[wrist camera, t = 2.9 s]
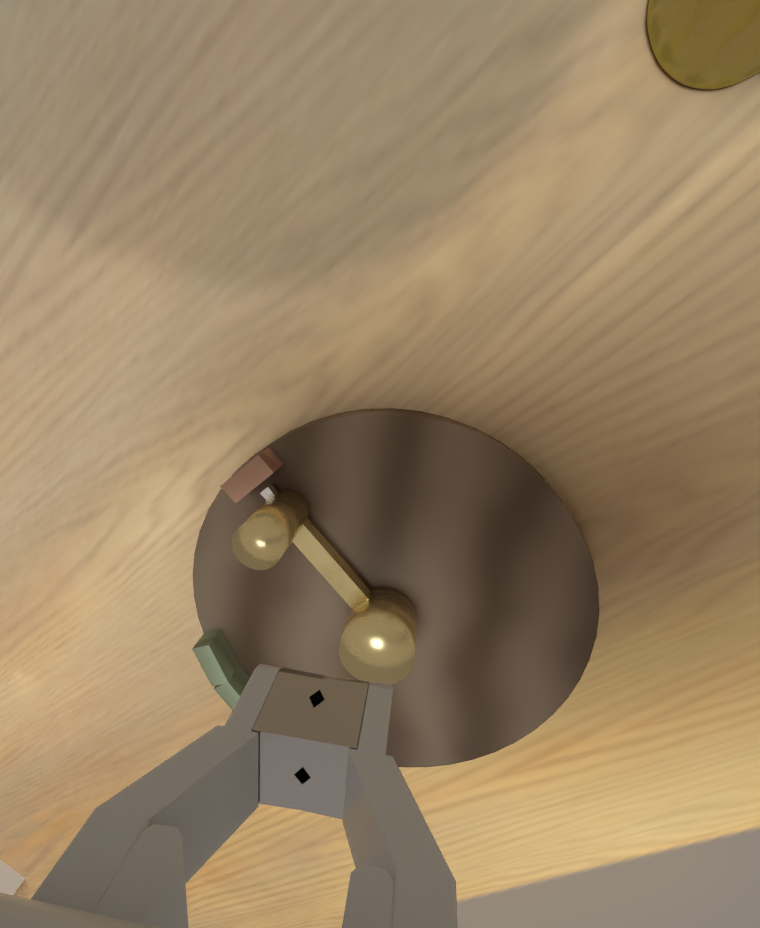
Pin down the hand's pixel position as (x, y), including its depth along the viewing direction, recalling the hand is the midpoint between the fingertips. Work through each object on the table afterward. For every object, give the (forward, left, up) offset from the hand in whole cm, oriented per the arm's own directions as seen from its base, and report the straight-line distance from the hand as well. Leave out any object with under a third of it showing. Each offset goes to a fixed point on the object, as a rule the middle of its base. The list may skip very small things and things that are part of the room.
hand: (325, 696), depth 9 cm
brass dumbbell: (+3, +5, -14) cm, 15 cm away
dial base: (0, +8, -16) cm, 18 cm away
